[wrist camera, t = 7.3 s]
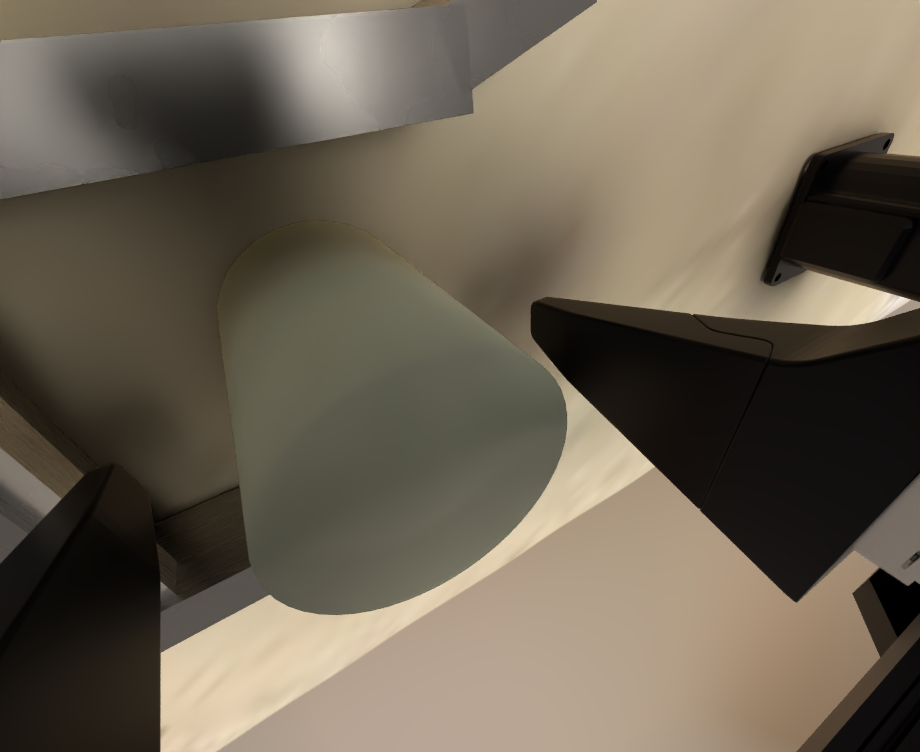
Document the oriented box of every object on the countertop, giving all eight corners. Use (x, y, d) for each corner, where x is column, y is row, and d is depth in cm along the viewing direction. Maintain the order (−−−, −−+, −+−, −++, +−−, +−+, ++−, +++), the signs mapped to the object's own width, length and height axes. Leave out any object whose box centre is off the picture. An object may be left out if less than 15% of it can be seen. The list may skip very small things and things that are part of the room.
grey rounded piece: (392, 199, 11) (578, 295, 6) (423, 359, 14) (559, 512, 9) (173, 252, 9) (152, 461, 4) (267, 421, 12) (323, 656, 7)
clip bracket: (504, -45, 9) (604, -88, 7) (515, 412, 18) (560, 456, 15) (-611, -6, 4) (-1415, -106, 2) (147, 589, 13) (139, 688, 11)
